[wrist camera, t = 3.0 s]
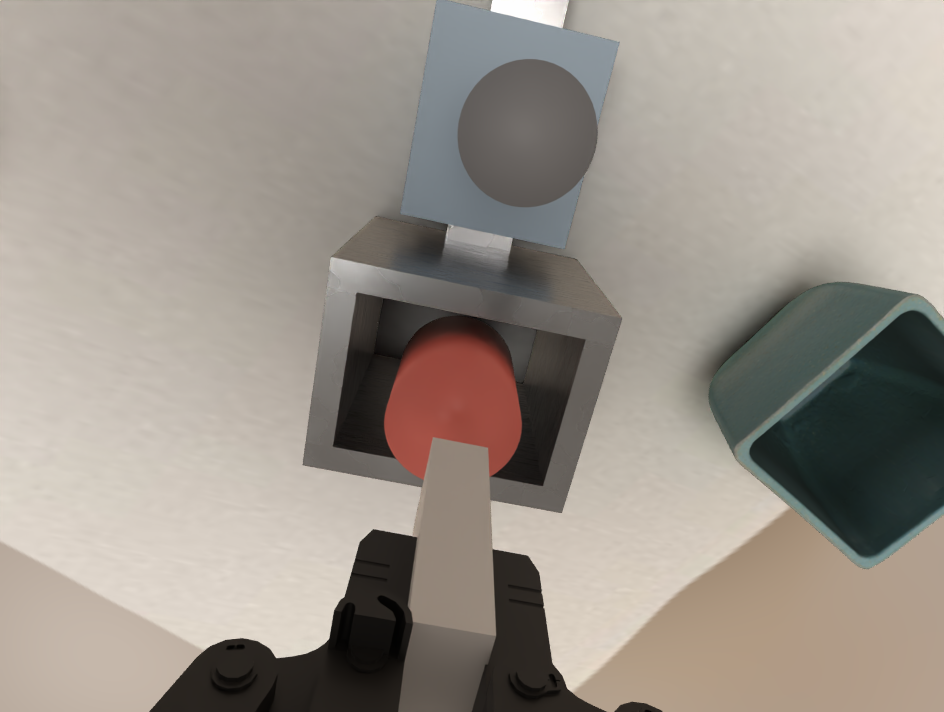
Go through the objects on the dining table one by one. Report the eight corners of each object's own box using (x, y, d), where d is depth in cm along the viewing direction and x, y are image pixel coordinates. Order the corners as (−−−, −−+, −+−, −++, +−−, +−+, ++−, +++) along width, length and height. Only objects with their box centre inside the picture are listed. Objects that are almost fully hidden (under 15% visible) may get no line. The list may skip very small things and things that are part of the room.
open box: (375, 216, 30) (331, 257, 21) (580, 260, 31) (627, 319, 21) (351, 367, 33) (302, 464, 23) (540, 405, 33) (566, 514, 24)
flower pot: (663, 371, 33) (729, 455, 24) (795, 243, 30) (919, 288, 22) (772, 467, 35) (868, 576, 26) (904, 354, 32) (1056, 434, 24)
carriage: (442, 15, 27) (406, -107, 13) (599, 53, 27) (734, -24, 13) (409, 202, 29) (350, 272, 15) (553, 233, 30) (623, 329, 16)
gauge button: (411, 305, 24) (396, 349, 19) (524, 328, 24) (536, 377, 19) (392, 408, 25) (374, 472, 21) (498, 428, 26) (504, 496, 21)
